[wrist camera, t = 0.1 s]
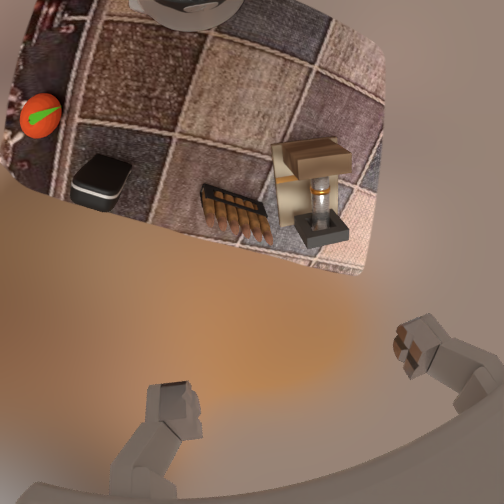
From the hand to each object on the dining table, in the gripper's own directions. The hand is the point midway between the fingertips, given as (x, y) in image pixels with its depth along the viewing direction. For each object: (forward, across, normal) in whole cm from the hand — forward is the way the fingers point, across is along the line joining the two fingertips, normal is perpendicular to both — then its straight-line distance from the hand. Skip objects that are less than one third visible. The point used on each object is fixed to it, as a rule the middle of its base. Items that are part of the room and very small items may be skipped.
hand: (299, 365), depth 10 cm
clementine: (+38, +25, -15) cm, 48 cm away
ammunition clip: (+40, 0, +8) cm, 41 cm away
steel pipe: (+35, -13, +9) cm, 38 cm away
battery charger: (+39, +18, -2) cm, 43 cm away
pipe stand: (+40, -13, +8) cm, 43 cm away
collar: (+37, -13, +13) cm, 42 cm away
